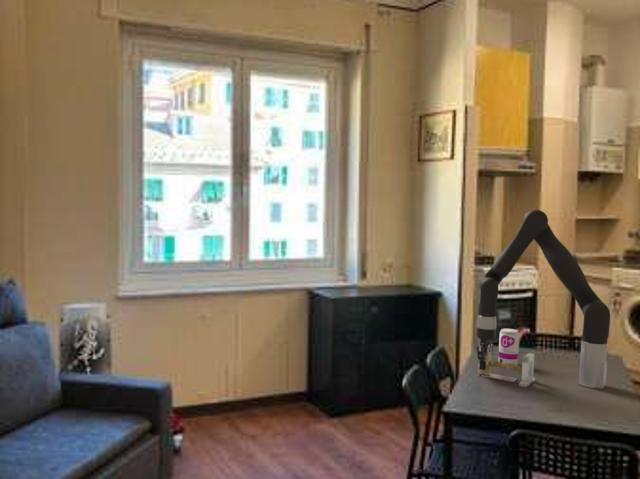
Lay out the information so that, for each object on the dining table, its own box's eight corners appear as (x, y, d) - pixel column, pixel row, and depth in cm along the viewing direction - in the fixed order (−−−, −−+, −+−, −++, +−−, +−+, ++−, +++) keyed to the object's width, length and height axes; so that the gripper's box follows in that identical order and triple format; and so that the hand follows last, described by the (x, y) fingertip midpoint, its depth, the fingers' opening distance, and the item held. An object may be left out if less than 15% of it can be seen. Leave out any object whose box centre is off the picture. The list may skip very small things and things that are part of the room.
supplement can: (513, 367, 273) (515, 333, 272) (495, 364, 278) (497, 330, 277) (520, 364, 279) (522, 330, 278) (502, 360, 284) (504, 327, 283)
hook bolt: (523, 378, 253) (524, 356, 253) (520, 381, 250) (521, 358, 249) (480, 371, 263) (482, 349, 262) (477, 373, 259) (478, 351, 259)
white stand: (535, 380, 255) (536, 353, 254) (526, 387, 245) (528, 358, 244) (488, 371, 265) (489, 345, 264) (478, 378, 255) (479, 350, 254)
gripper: (489, 330, 251) (487, 373, 252) (501, 325, 263) (499, 366, 264) (471, 328, 255) (469, 370, 256) (483, 322, 267) (481, 363, 268)
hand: (484, 368), depth 260 cm, fingers closed on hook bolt, 4 cm apart
